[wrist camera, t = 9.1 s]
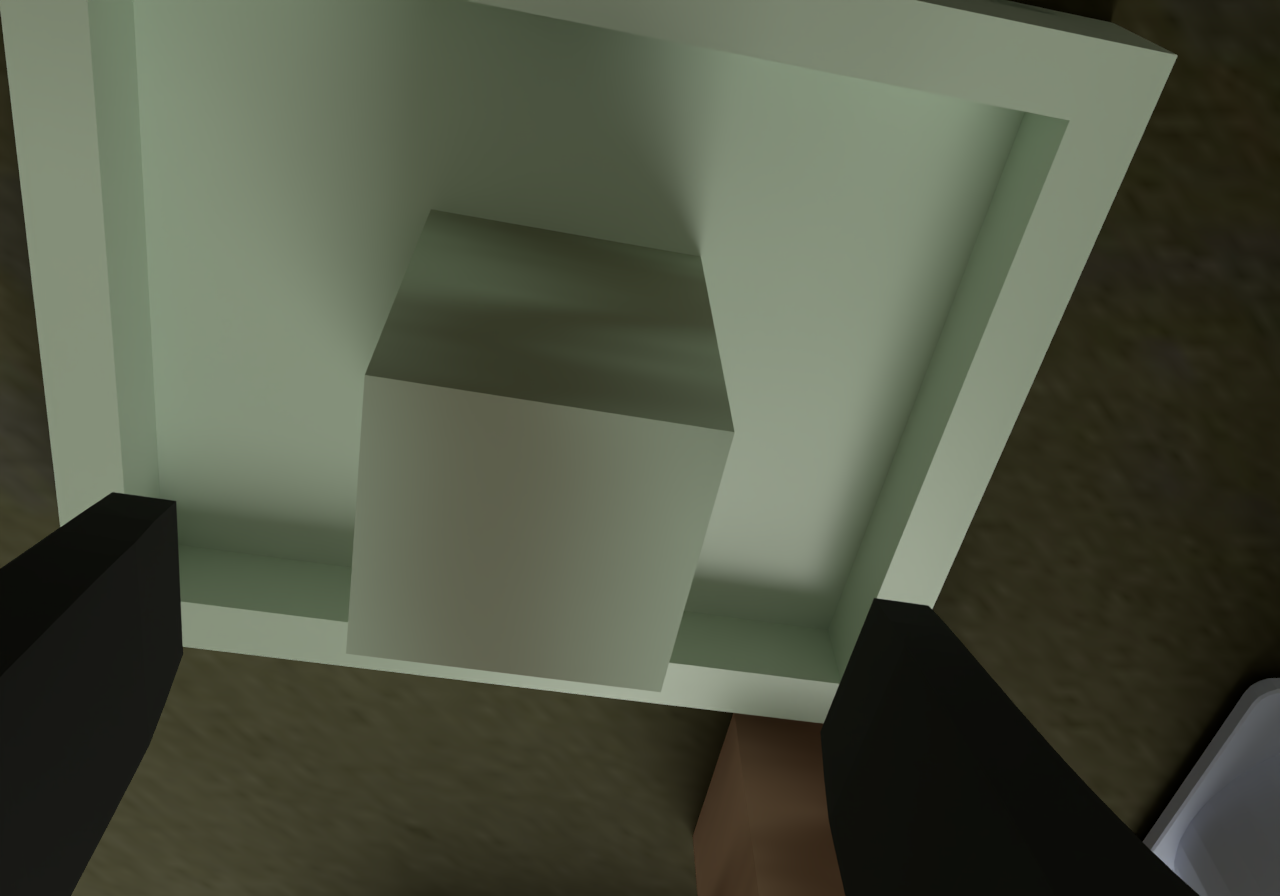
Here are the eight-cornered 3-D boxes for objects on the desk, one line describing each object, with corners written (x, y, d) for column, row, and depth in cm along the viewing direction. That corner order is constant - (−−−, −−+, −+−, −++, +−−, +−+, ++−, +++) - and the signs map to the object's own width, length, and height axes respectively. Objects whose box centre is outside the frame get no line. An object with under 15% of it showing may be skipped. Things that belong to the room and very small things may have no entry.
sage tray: (1113, 22, 15) (1177, 55, 13) (856, 653, 21) (878, 729, 19) (56, -202, 13) (-23, -198, 11) (119, 558, 19) (73, 632, 18)
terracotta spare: (918, 731, 22) (990, 953, 18) (862, 852, 25) (915, 1076, 20) (733, 709, 22) (763, 932, 18) (692, 835, 24) (710, 1060, 20)
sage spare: (701, 256, 16) (734, 432, 12) (648, 475, 18) (660, 692, 14) (430, 208, 15) (364, 374, 11) (408, 440, 18) (346, 653, 13)
